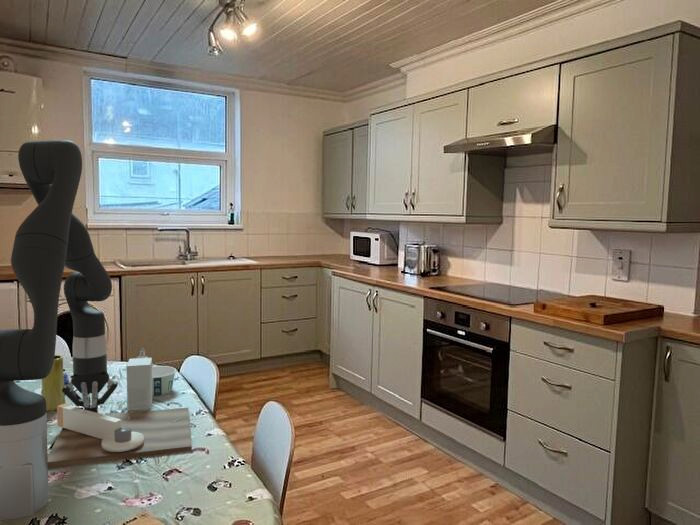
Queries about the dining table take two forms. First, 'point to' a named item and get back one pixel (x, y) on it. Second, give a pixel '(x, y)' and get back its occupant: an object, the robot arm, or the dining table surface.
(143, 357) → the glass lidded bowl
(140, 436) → the white pivot lever
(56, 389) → the vase
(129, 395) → the small box
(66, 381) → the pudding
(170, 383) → the food container
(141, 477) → the dining table surface
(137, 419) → the board
